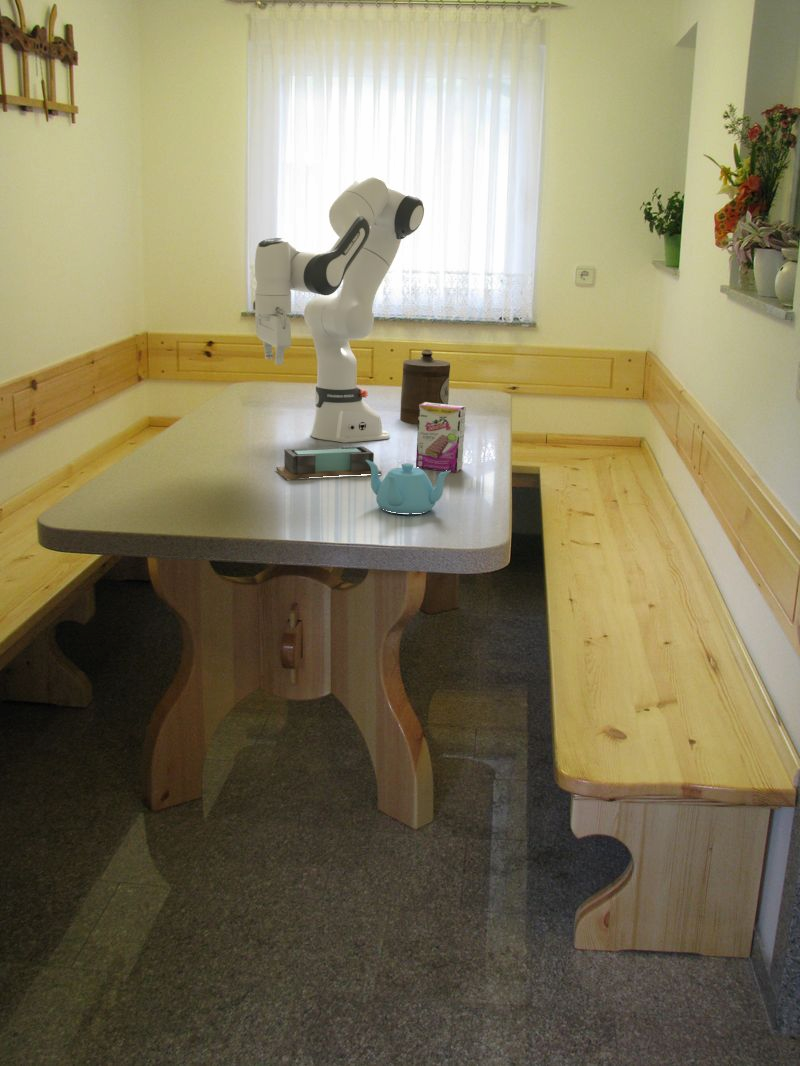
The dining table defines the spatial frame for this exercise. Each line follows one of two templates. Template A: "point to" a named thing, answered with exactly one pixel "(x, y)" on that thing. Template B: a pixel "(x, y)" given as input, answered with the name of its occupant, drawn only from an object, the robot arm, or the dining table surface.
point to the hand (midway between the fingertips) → (273, 361)
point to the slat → (330, 458)
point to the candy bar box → (440, 436)
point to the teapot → (406, 489)
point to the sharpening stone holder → (305, 468)
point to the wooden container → (423, 385)
